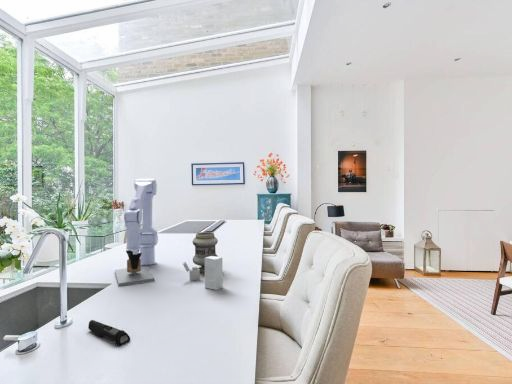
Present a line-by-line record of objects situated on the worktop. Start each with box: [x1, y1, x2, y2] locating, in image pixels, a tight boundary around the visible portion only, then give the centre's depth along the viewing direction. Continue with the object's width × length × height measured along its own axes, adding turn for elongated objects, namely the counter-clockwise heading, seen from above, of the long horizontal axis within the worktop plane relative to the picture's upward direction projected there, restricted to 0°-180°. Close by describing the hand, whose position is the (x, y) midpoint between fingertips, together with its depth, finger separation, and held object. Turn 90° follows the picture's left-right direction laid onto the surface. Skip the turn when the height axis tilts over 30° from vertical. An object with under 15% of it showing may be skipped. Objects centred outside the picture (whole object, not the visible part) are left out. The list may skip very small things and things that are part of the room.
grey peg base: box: [114, 265, 156, 287], centre depth 133 cm, size 22×14×6 cm, turn 29°
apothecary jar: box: [192, 231, 219, 275], centre depth 141 cm, size 12×12×18 cm
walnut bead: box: [126, 258, 142, 273], centre depth 133 cm, size 5×5×5 cm
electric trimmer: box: [87, 319, 131, 347], centre depth 80 cm, size 4×16×3 cm, turn 58°
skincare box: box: [204, 256, 224, 291], centre depth 118 cm, size 6×4×12 cm
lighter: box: [182, 261, 201, 281], centre depth 128 cm, size 7×2×8 cm, turn 107°
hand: (133, 267), depth 133 cm, fingers closed on walnut bead, 5 cm apart
